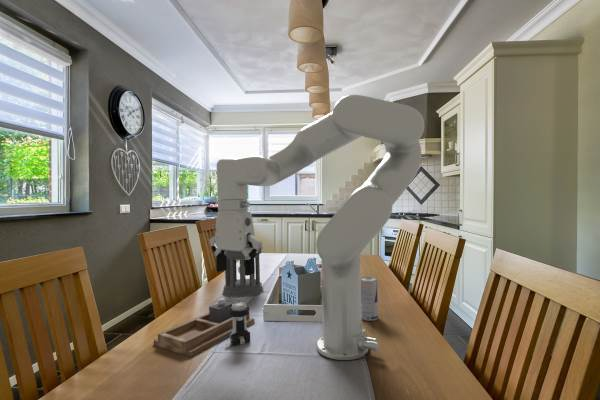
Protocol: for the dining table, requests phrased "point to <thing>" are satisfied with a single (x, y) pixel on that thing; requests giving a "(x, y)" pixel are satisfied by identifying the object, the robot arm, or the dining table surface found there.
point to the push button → (239, 324)
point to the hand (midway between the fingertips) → (235, 272)
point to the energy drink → (369, 299)
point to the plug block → (220, 311)
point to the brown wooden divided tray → (196, 335)
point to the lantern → (241, 277)
